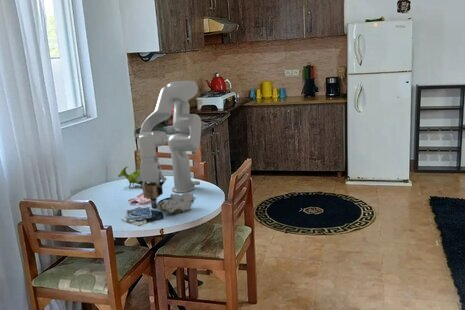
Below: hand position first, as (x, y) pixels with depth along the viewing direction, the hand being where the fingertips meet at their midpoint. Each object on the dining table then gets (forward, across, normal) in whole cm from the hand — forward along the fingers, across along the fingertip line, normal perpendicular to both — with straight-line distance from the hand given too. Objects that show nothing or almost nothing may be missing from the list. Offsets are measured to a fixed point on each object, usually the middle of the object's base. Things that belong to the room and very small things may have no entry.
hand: (153, 193), depth 228 cm
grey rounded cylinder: (+7, 0, 0) cm, 7 cm away
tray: (+7, +2, +13) cm, 15 cm away
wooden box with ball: (+1, 0, 0) cm, 1 cm away
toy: (+8, +29, -32) cm, 44 cm away
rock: (+7, -15, +4) cm, 17 cm away
